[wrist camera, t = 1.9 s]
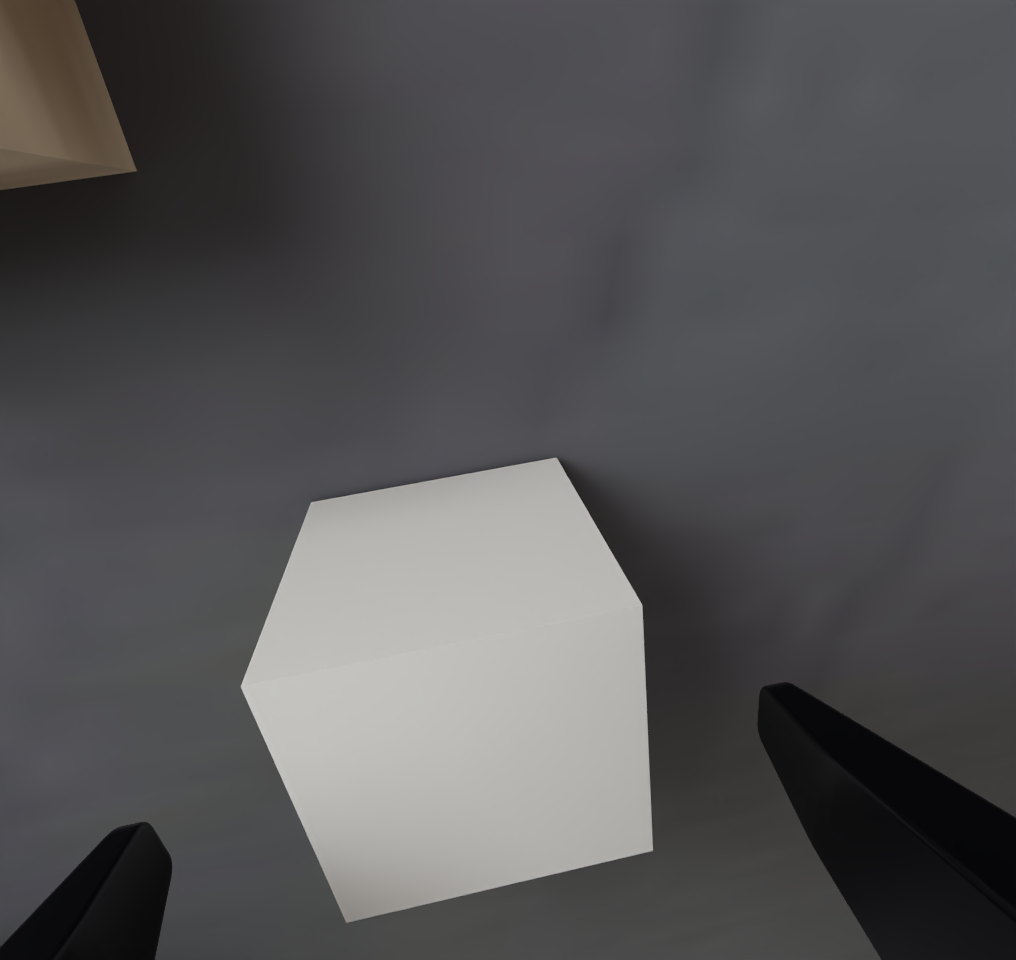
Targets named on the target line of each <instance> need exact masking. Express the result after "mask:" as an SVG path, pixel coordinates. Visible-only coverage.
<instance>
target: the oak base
mask: <svg viewBox="0 0 1016 960" xmlns="http://www.w3.org/2000/svg"><path fill="white" fill-rule="evenodd" d="M135 171H137V170H136V167H135V165H134V162H133V159H132V156H131V154H130V151H129V148H128V145H127V143H126V140H125V137H124V134H123V132H122V129H121V126H120V123H119V121H118V118H117V115H116V112H115V110H114V107H113V104H112V101H111V99H110V96H109V93H108V90H107V88H106V85H105V82H104V79H103V77H102V74H101V71H100V68H99V66H98V63H97V60H96V57H95V55H94V52H93V49H92V46H91V44H90V41H89V38H88V36H87V33H86V30H85V27H84V25H83V22H82V19H81V16H80V14H79V11H78V8H77V5H76V3H75V0H0V190H5V189H12V188H20V187H27V186H34V185H41V184H49V183H56V182H63V181H70V180H78V179H85V178H92V177H99V176H106V175H114V174H121V173H128V172H135Z"/></svg>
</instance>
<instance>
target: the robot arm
mask: <svg viewBox="0 0 1016 960" xmlns="http://www.w3.org/2000/svg"><path fill="white" fill-rule="evenodd" d="M757 724H758V732H759V736H760V739H761V741H762V743H763V746H764V748H765V750H766V752H767V754H768V756H769V758H770V760H771V762H772V764H773V766H774V768H775V770H776V772H777V774H778V776H779V778H780V781H781V783H782V785H783V787H784V789H785V791H786V793H787V795H788V797H789V799H790V801H791V803H792V805H793V807H794V809H795V811H796V813H797V816H798V818H799V820H800V822H801V824H802V826H803V828H804V830H805V832H806V834H807V836H808V838H809V840H810V841H811V843H812V845H813V847H814V849H815V850H816V852H817V854H818V856H819V857H820V859H821V861H822V863H823V864H824V866H825V868H826V869H827V871H828V872H829V874H830V876H831V877H832V879H833V881H834V882H835V884H836V886H837V887H838V889H839V891H840V892H841V894H842V896H843V897H844V899H845V900H846V902H847V904H848V905H849V907H850V909H851V910H852V912H853V914H854V915H855V917H856V919H857V920H858V922H859V923H860V925H861V927H862V928H863V930H864V932H865V933H866V935H867V937H868V938H869V940H870V942H871V943H872V945H873V947H874V948H875V950H876V951H877V953H878V955H879V956H880V958H881V960H1016V818H1015V817H1014V816H1012V815H1010V814H1009V813H1007V812H1005V811H1004V810H1002V809H1000V808H999V807H997V806H995V805H994V804H992V803H990V802H989V801H987V800H985V799H984V798H982V797H980V796H979V795H977V794H975V793H974V792H972V791H970V790H969V789H967V788H965V787H964V786H962V785H960V784H959V783H957V782H955V781H954V780H952V779H950V778H949V777H947V776H945V775H944V774H942V773H940V772H939V771H937V770H935V769H934V768H932V767H930V766H929V765H927V764H925V763H924V762H922V761H920V760H919V759H917V758H915V757H914V756H912V755H910V754H909V753H907V752H905V751H904V750H902V749H900V748H899V747H897V746H895V745H894V744H892V743H890V742H889V741H887V740H885V739H884V738H882V737H880V736H879V735H877V734H875V733H874V732H872V731H870V730H869V729H867V728H865V727H864V726H862V725H860V724H859V723H857V722H855V721H854V720H852V719H850V718H849V717H847V716H845V715H844V714H842V713H840V712H839V711H837V710H835V709H834V708H832V707H830V706H829V705H827V704H825V703H824V702H822V701H820V700H819V699H817V698H815V697H813V696H812V695H810V694H808V693H807V692H805V691H803V690H802V689H800V688H798V687H797V686H795V685H793V684H791V683H788V682H782V683H777V684H773V685H768V686H765V687H763V688H762V689H761V691H760V695H759V709H758V723H757ZM171 875H172V861H171V857H170V855H169V853H168V851H167V850H166V848H165V846H164V845H163V843H162V841H161V840H160V838H159V837H158V835H157V833H156V832H155V830H154V829H153V827H152V826H151V825H150V824H149V823H146V822H140V823H135V824H130V825H126V826H121V827H118V828H116V829H114V830H113V831H111V832H110V833H109V834H108V835H107V836H106V837H105V838H104V839H103V840H102V841H101V842H100V843H99V844H98V845H97V846H96V847H95V848H94V850H93V851H92V852H91V853H90V854H89V855H88V856H87V857H86V858H85V859H84V860H83V861H82V862H81V863H80V864H79V865H78V866H77V867H76V868H75V869H74V870H73V872H72V873H71V874H70V875H69V876H68V877H67V878H66V879H65V880H64V881H63V882H62V883H61V884H60V885H59V886H58V887H57V888H56V889H55V890H54V891H53V892H52V893H51V895H50V896H49V897H48V898H47V899H46V900H45V901H44V902H43V903H42V904H41V905H40V906H39V907H38V908H37V909H36V910H35V911H34V912H33V913H32V914H31V915H30V917H29V918H28V919H27V920H26V921H25V922H24V923H23V924H22V925H21V926H20V927H19V928H18V929H17V930H16V931H15V932H14V933H13V934H12V935H11V936H10V937H9V939H8V940H7V941H6V942H5V943H4V944H3V945H2V946H1V947H0V960H155V956H156V951H157V946H158V941H159V936H160V931H161V926H162V921H163V916H164V911H165V906H166V901H167V896H168V891H169V886H170V881H171Z"/></svg>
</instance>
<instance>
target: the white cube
mask: <svg viewBox="0 0 1016 960" xmlns="http://www.w3.org/2000/svg"><path fill="white" fill-rule="evenodd" d="M241 688H242V691H243V693H244V695H245V697H246V700H247V702H248V704H249V706H250V709H251V711H252V713H253V715H254V717H255V720H256V722H257V724H258V726H259V729H260V731H261V733H262V735H263V738H264V740H265V742H266V744H267V747H268V749H269V751H270V753H271V755H272V758H273V760H274V762H275V764H276V767H277V769H278V771H279V773H280V776H281V778H282V780H283V782H284V784H285V787H286V789H287V791H288V793H289V796H290V798H291V800H292V802H293V805H294V807H295V809H296V811H297V813H298V816H299V818H300V820H301V822H302V825H303V827H304V829H305V831H306V834H307V836H308V838H309V840H310V843H311V845H312V847H313V849H314V851H315V854H316V856H317V858H318V860H319V863H320V865H321V867H322V869H323V872H324V874H325V876H326V878H327V880H328V883H329V885H330V887H331V889H332V892H333V894H334V896H335V898H336V901H337V903H338V905H339V907H340V909H341V912H342V914H343V916H344V918H345V921H346V923H348V922H352V921H356V920H360V919H365V918H369V917H373V916H377V915H382V914H386V913H390V912H394V911H399V910H403V909H407V908H411V907H416V906H420V905H424V904H428V903H433V902H437V901H441V900H446V899H450V898H454V897H458V896H463V895H467V894H471V893H475V892H480V891H484V890H488V889H492V888H497V887H501V886H505V885H509V884H514V883H518V882H522V881H526V880H531V879H535V878H539V877H543V876H548V875H552V874H556V873H560V872H565V871H569V870H573V869H577V868H582V867H586V866H590V865H594V864H599V863H603V862H607V861H611V860H616V859H620V858H624V857H628V856H633V855H637V854H641V853H645V852H650V851H653V841H652V818H651V794H650V771H649V748H648V725H647V701H646V678H645V655H644V631H643V608H642V604H641V602H640V600H639V598H638V597H637V595H636V593H635V592H634V590H633V588H632V586H631V585H630V583H629V581H628V580H627V578H626V576H625V574H624V573H623V571H622V569H621V567H620V566H619V564H618V562H617V561H616V559H615V557H614V555H613V554H612V552H611V550H610V549H609V547H608V545H607V543H606V542H605V540H604V538H603V537H602V535H601V533H600V531H599V530H598V528H597V526H596V524H595V523H594V521H593V519H592V518H591V516H590V514H589V512H588V511H587V509H586V507H585V506H584V504H583V502H582V500H581V499H580V497H579V495H578V494H577V492H576V490H575V488H574V487H573V485H572V483H571V481H570V480H569V478H568V476H567V475H566V473H565V471H564V469H563V468H562V466H561V464H560V463H559V461H558V459H557V458H551V459H546V460H540V461H535V462H529V463H524V464H518V465H513V466H508V467H502V468H497V469H491V470H486V471H480V472H475V473H469V474H464V475H458V476H453V477H447V478H442V479H436V480H431V481H425V482H420V483H414V484H409V485H403V486H398V487H392V488H387V489H381V490H376V491H370V492H365V493H359V494H354V495H349V496H343V497H338V498H332V499H327V500H321V501H316V502H311V504H310V507H309V509H308V512H307V515H306V517H305V520H304V522H303V525H302V528H301V530H300V533H299V536H298V538H297V541H296V543H295V546H294V549H293V551H292V554H291V557H290V559H289V562H288V564H287V567H286V570H285V572H284V575H283V577H282V580H281V583H280V585H279V588H278V591H277V593H276V596H275V598H274V601H273V604H272V606H271V609H270V611H269V614H268V617H267V619H266V622H265V625H264V627H263V630H262V632H261V635H260V638H259V640H258V643H257V646H256V648H255V651H254V653H253V656H252V659H251V661H250V664H249V666H248V669H247V672H246V674H245V677H244V680H243V682H242V685H241Z"/></svg>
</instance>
